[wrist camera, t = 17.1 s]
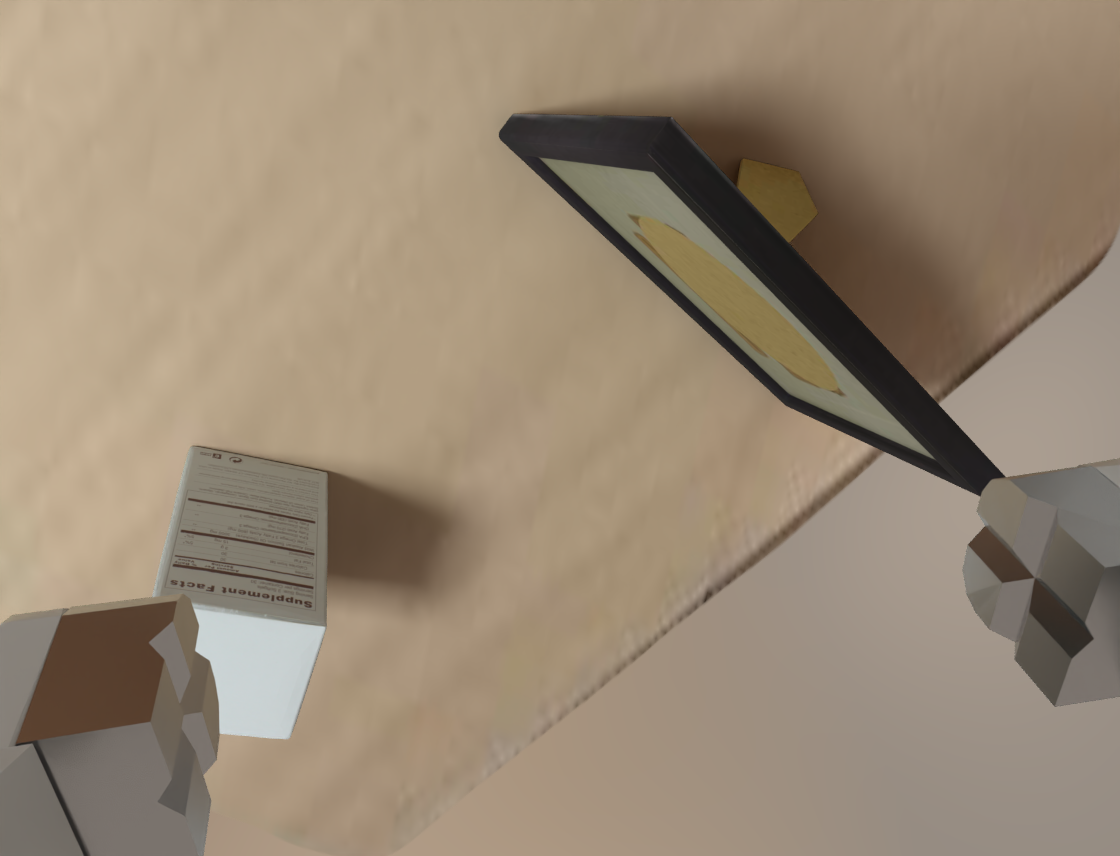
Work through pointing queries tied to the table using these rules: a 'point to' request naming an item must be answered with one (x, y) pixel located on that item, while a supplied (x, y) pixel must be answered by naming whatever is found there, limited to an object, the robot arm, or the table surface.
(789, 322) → the picture frame
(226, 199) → the table surface
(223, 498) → the supplement box
